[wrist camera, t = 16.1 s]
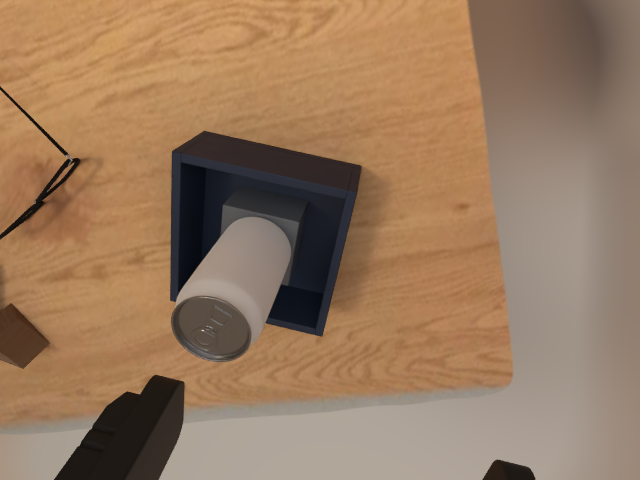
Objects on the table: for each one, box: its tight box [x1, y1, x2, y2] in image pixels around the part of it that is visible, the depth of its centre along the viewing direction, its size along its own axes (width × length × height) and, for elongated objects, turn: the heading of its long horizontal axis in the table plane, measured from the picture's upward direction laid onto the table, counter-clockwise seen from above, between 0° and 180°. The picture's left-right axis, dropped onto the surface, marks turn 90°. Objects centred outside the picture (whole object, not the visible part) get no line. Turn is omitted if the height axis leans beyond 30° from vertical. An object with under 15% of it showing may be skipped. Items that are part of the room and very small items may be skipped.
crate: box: [170, 131, 362, 337], centre depth 41 cm, size 16×16×7 cm
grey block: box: [221, 186, 308, 286], centre depth 41 cm, size 7×7×5 cm
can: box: [171, 217, 291, 362], centre depth 34 cm, size 6×6×12 cm
